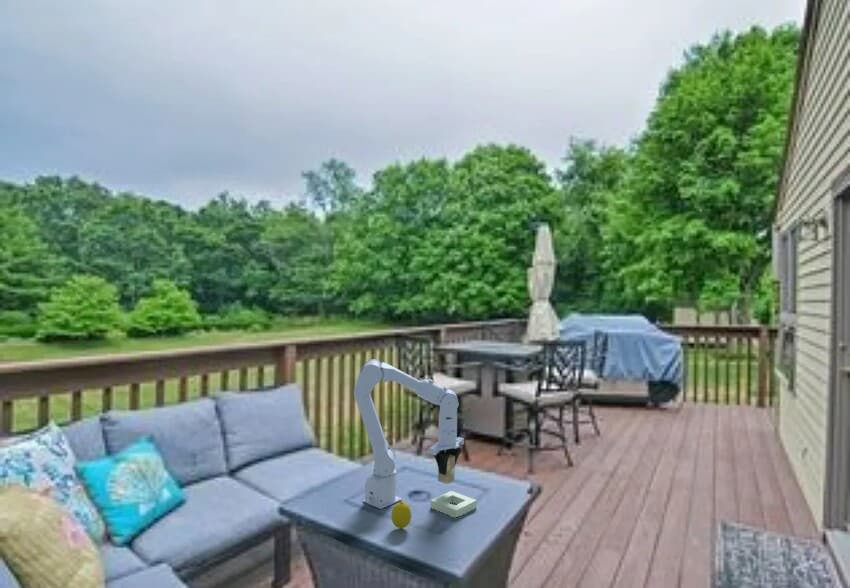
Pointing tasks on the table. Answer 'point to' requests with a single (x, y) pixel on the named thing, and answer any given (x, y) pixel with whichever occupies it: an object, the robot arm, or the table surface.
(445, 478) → the peg
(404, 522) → the lemon
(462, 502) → the socket block
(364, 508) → the table surface
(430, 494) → the table surface
